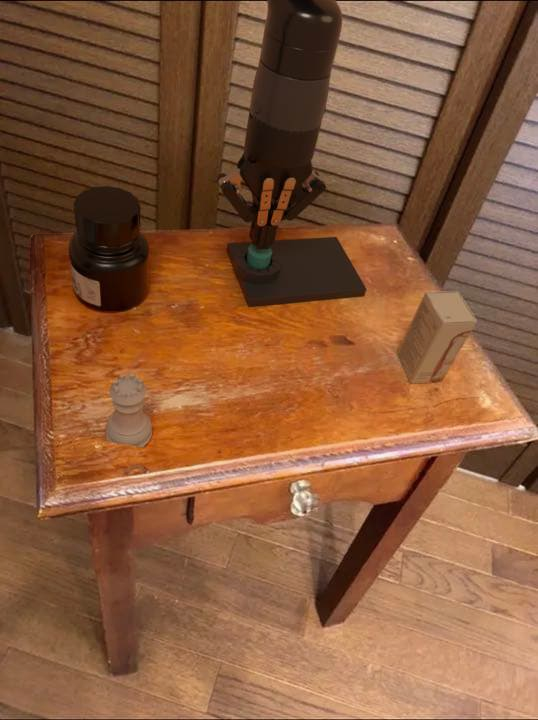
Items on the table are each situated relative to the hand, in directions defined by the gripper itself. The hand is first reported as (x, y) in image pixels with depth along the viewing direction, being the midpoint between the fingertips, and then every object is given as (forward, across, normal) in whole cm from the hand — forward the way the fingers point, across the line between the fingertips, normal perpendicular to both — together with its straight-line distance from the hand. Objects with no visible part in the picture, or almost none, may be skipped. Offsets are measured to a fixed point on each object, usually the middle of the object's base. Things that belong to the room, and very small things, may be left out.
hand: (260, 245), depth 73 cm
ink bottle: (+6, +18, 0) cm, 19 cm away
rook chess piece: (+6, +19, +21) cm, 29 cm away
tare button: (+3, 0, 0) cm, 3 cm away
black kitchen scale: (+5, -6, 0) cm, 8 cm away
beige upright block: (+5, -16, +18) cm, 24 cm away
